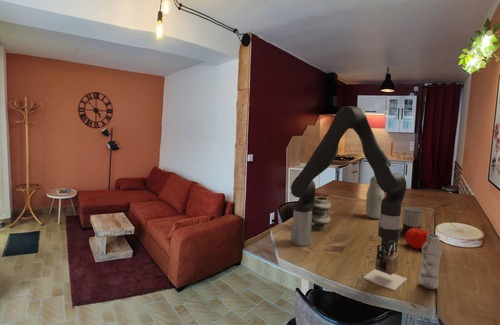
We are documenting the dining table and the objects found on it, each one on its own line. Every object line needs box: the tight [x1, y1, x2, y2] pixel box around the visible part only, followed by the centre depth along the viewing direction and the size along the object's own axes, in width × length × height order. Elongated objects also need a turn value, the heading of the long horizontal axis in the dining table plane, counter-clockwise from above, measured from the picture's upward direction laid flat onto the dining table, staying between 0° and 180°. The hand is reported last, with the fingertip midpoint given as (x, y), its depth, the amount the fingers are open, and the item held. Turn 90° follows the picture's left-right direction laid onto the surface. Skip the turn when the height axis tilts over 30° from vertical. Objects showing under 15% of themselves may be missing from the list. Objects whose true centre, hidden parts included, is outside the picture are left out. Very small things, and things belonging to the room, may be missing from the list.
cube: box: [374, 252, 399, 275], centre depth 115 cm, size 6×6×6 cm
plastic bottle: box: [418, 233, 443, 290], centre depth 110 cm, size 6×7×20 cm
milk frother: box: [400, 206, 424, 236], centre depth 167 cm, size 14×16×15 cm
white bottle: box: [365, 175, 385, 220], centre depth 193 cm, size 10×10×28 cm
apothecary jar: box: [311, 195, 332, 232], centre depth 173 cm, size 12×12×18 cm
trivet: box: [362, 268, 408, 292], centre depth 116 cm, size 12×12×1 cm
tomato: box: [404, 227, 430, 250], centre depth 148 cm, size 11×12×9 cm
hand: (386, 266), depth 116 cm, fingers closed on cube, 6 cm apart
